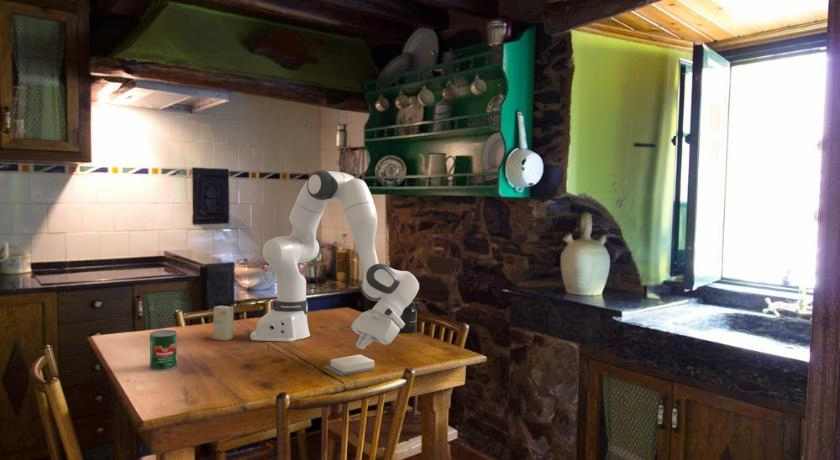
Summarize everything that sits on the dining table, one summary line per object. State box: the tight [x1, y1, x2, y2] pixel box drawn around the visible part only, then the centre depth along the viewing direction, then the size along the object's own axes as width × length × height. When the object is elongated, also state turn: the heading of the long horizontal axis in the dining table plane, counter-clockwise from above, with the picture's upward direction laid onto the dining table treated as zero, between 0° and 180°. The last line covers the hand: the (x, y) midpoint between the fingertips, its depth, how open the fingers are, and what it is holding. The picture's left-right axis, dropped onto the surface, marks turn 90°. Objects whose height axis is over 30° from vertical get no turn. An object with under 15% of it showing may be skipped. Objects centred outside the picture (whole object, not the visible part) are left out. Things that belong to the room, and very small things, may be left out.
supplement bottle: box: [399, 301, 418, 334], centre depth 243 cm, size 7×7×12 cm
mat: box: [323, 364, 375, 377], centre depth 191 cm, size 12×11×1 cm
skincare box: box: [212, 305, 234, 341], centre depth 226 cm, size 6×4×12 cm
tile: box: [330, 354, 376, 373], centre depth 192 cm, size 2×9×11 cm
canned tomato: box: [149, 329, 178, 372], centre depth 189 cm, size 8×8×11 cm
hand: (359, 347), depth 193 cm, fingers closed
